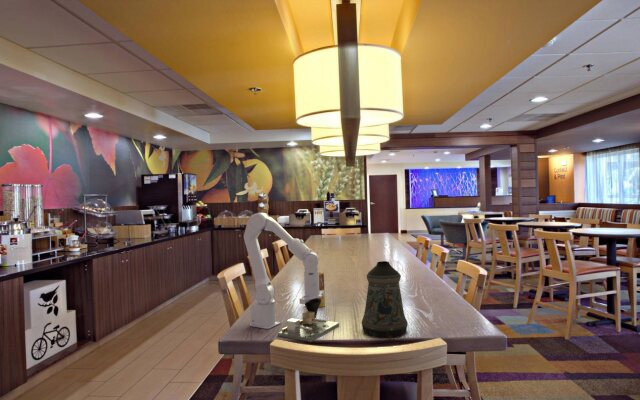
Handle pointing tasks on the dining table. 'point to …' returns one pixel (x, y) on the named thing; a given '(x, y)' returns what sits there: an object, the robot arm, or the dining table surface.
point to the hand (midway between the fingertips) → (312, 318)
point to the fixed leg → (295, 326)
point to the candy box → (321, 288)
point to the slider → (310, 318)
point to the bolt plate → (310, 331)
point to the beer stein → (384, 304)
